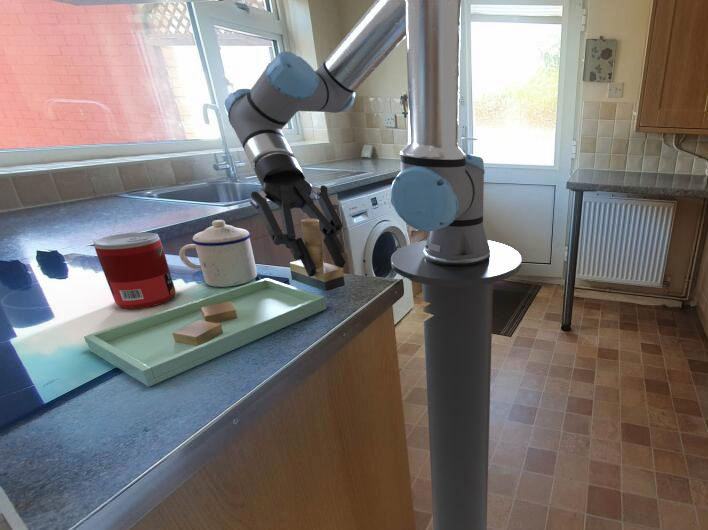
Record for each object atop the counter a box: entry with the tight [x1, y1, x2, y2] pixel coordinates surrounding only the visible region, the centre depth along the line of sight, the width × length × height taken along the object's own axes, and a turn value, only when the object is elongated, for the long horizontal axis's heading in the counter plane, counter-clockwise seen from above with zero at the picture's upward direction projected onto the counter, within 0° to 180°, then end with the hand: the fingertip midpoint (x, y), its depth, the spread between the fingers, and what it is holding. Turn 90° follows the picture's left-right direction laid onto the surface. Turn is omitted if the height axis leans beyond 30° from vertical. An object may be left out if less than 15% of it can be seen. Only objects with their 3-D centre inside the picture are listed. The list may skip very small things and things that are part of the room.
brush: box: [289, 218, 346, 292], centre depth 74 cm, size 4×10×12 cm, turn 59°
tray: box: [83, 277, 327, 388], centre depth 62 cm, size 26×16×2 cm, turn 152°
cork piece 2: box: [201, 301, 238, 323], centre depth 64 cm, size 4×4×2 cm
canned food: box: [93, 231, 176, 310], centre depth 68 cm, size 8×8×11 cm
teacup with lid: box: [178, 219, 258, 288], centre depth 77 cm, size 12×9×12 cm
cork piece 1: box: [172, 320, 223, 346], centre depth 58 cm, size 4×4×2 cm
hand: (327, 269), depth 73 cm, fingers closed on brush, 5 cm apart
